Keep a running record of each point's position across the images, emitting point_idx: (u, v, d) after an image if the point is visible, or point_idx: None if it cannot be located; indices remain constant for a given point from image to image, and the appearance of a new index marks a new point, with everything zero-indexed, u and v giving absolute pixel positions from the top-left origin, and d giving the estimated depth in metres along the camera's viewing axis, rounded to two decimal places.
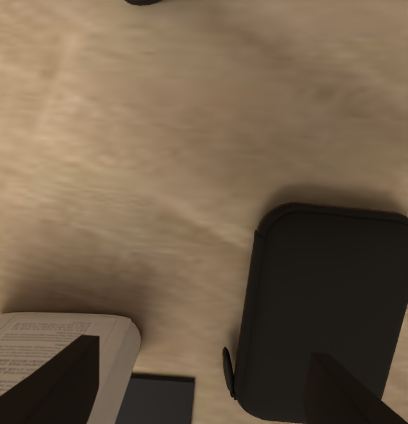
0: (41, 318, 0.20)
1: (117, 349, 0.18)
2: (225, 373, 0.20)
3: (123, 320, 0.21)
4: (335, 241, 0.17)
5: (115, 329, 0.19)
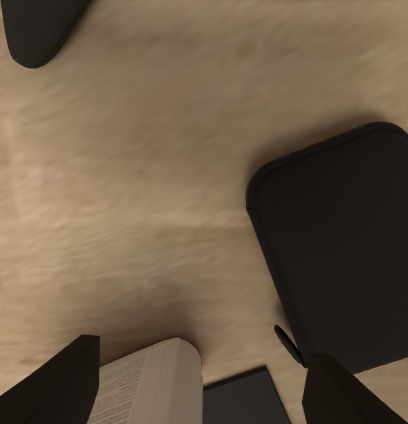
0: (102, 371, 0.21)
1: (174, 371, 0.18)
2: (287, 348, 0.20)
3: (173, 341, 0.21)
4: (320, 180, 0.16)
5: (167, 353, 0.20)
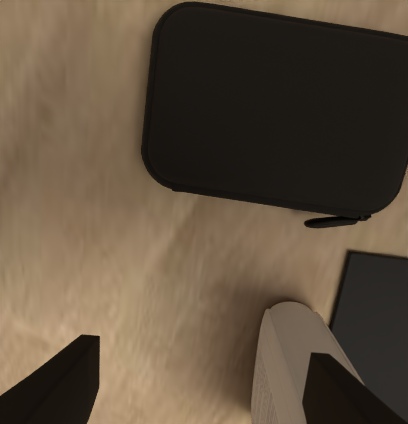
0: (253, 387, 0.22)
1: (275, 339, 0.18)
2: (333, 226, 0.18)
3: (264, 317, 0.21)
4: (172, 114, 0.16)
5: (266, 330, 0.20)
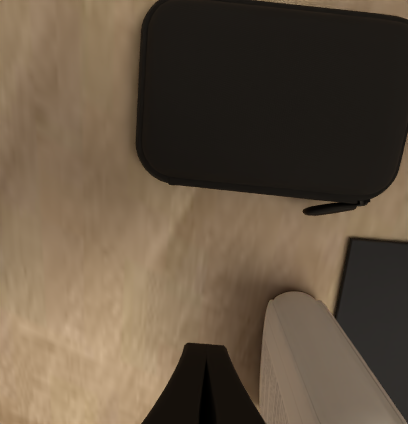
0: (260, 379, 0.22)
1: (279, 329, 0.18)
2: (332, 212, 0.18)
3: (268, 308, 0.21)
4: (164, 107, 0.16)
5: (270, 321, 0.20)
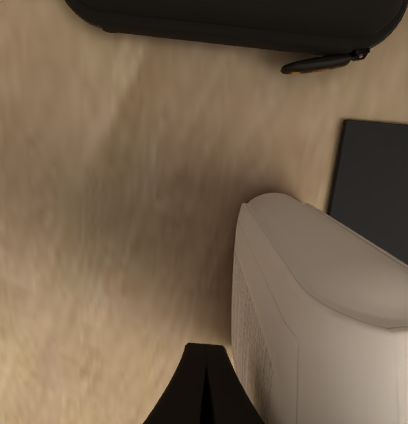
0: None
1: (251, 220, 0.13)
2: (319, 66, 0.14)
3: (239, 212, 0.16)
4: None
5: (240, 223, 0.15)
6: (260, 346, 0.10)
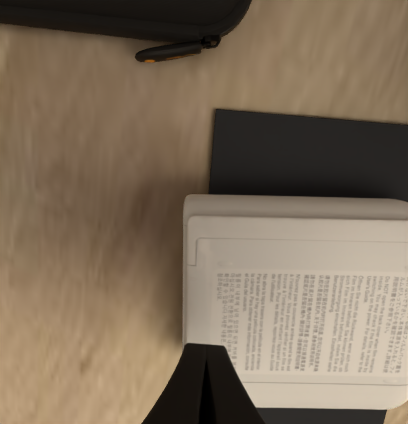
0: None
1: (272, 219, 0.13)
2: (169, 54, 0.14)
3: (201, 227, 0.13)
4: None
5: (230, 234, 0.13)
6: (378, 287, 0.13)
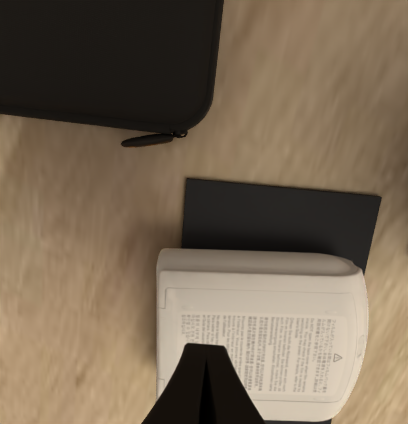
0: None
1: (223, 274, 0.16)
2: (147, 143, 0.17)
3: (169, 279, 0.16)
4: None
5: (191, 285, 0.16)
6: (305, 326, 0.17)
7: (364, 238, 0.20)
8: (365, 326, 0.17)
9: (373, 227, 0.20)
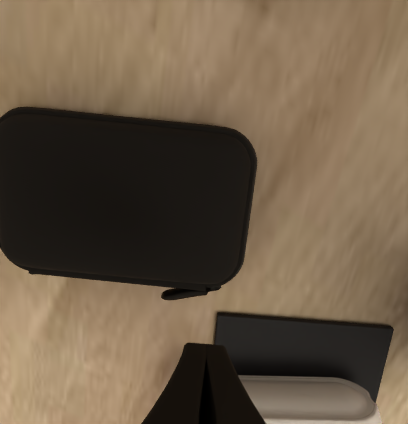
0: None
1: None
2: (185, 297, 0.19)
3: None
4: (11, 212, 0.17)
5: None
6: None
7: (378, 363, 0.22)
8: None
9: (386, 353, 0.22)
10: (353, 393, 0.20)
